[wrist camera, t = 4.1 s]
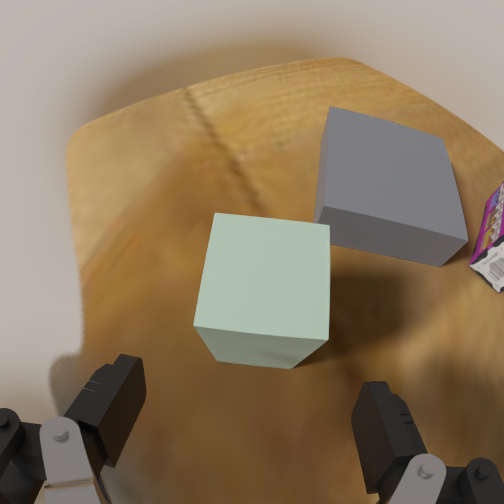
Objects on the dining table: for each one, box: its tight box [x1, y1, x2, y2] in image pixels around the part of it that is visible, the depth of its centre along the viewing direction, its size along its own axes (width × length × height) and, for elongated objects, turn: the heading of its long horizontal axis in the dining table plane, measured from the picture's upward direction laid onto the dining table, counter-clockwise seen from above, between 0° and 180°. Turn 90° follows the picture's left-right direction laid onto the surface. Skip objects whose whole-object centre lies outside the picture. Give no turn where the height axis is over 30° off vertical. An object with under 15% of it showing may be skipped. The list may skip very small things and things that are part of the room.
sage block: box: [193, 213, 330, 369], centre depth 17 cm, size 5×5×10 cm
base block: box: [314, 106, 468, 267], centre depth 25 cm, size 12×12×5 cm
